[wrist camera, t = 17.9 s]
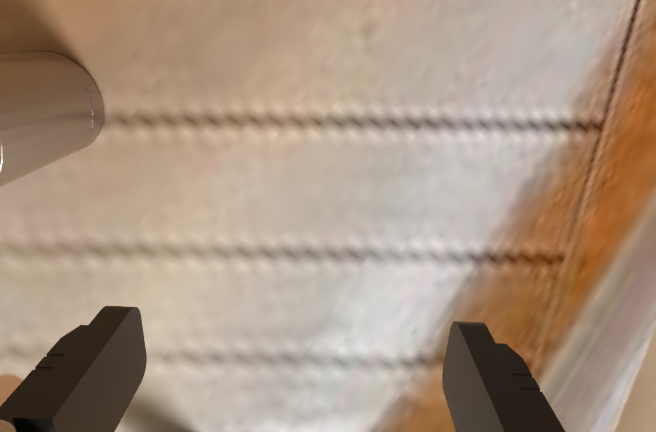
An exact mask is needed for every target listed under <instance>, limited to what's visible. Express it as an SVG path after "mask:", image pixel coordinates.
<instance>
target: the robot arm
mask: <svg viewBox="0 0 656 432" xmlns="http://www.w3.org/2000/svg"><path fill="white" fill-rule="evenodd" d="M103 120H104V105H103V101H102V97H101V94H100V92H99V90H98V87H97V85H96V84H95V82H94V81H93V79H92V78H91V77H90V75H89V74H88V73H87V72H86V71H85V70H84V69H83V68H82V67H81V66H79V65H78V64H77V63H75V62H74V61H72V60H71V59H69V58H67V57H65V56H62V55H60V54H56V53H52V52H41V51H37V52H23V53H6V54H0V187H1V186H3V185H5V184H7V183H10V182H12V181H14V180H16V179H18V178H20V177H22V176H24V175H27V174H29V173H31V172H33V171H35V170H37V169H39V168H41V167H44V166H46V165H48V164H50V163H52V162H54V161H56V160H59V159H61V158H63V157H65V156H67V155H69V154H71V153H74V152H76V151H78V150H80V149H82V148H84V147H86V146H87V145H89V144H90V143H91V142H93V141H94V140H95V138H96V137H97V136H98V135H99V132H100V130H101V128H102V126H103ZM145 369H146V349H145V342H144V335H143V327H142V320H141V314H140V311H139V309H138V308H137V307H122V306H105V307H104V308H102V309H101V311H100V312H99V313H98V314H97V316H96V317H95V318H94V319H93V320H92V322H91V323H90V324H89V325H80V326H79V327H77V328H76V329H74V330H73V331H71V332H70V333H68V334H66V335H65V336H63V337H62V338H60V340H59V341H58V342H57V343H56V344H55V345H54V346H53V348H52V349H51V350H50V351H49V352H48V353H47V357H44V358H43V359H42V360H41V361H40V362H39V363H38V365H37V366H36V369H35V370H32V371H31V373H30V374H29V375H28V376H27V377H26V378H25V379H24V380H23V382H22V383H21V384H20V385H19V386H18V388H16V390H15V391H14V392H13V393H12V394H11V395H10V396H9V398H8V399H7V400H6V401H5V402H4V403H3V404H2V405H1V407H0V432H114V431H115V429H116V428H117V426H118V424H119V422H120V420H121V418H122V417H123V415H124V413H125V411H126V409H127V407H128V405H129V404H130V402H131V400H132V398H133V396H134V394H135V392H136V391H137V389H138V387H139V385H140V383H141V381H142V379H143V376H144V373H145ZM443 389H444V394H445V397H446V401H447V404H448V407H449V410H450V413H451V417H452V420H453V423H454V426H455V429H456V432H565V431H564V429H563V427H562V425H561V424H560V422H559V420H558V419H557V417H556V415H555V413H554V412H553V410H552V408H551V407H550V405H549V403H548V402H547V400H546V398H545V396H544V395H543V393H542V392H540V388H539V386H538V384H537V383H536V381H535V379H534V378H532V374H531V372H530V371H529V369H528V367H527V366H526V364H525V362H524V360H523V359H522V358H521V357H520V356H519V355H518V354H517V353H516V352H515V351H513V350H512V349H511V348H510V347H509V346H508V345H507V344H498V343H495V341H494V339H493V337H492V336H491V334H490V332H489V330H488V328H487V326H486V325H485V324H484V323H479V322H455V321H454V322H453V323H452V325H451V329H450V334H449V339H448V345H447V350H446V355H445V361H444V366H443Z"/></svg>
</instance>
